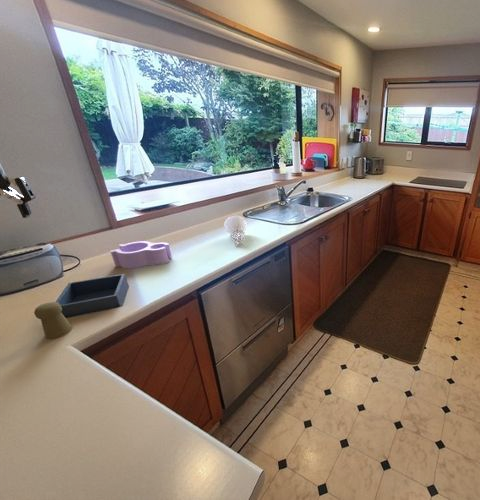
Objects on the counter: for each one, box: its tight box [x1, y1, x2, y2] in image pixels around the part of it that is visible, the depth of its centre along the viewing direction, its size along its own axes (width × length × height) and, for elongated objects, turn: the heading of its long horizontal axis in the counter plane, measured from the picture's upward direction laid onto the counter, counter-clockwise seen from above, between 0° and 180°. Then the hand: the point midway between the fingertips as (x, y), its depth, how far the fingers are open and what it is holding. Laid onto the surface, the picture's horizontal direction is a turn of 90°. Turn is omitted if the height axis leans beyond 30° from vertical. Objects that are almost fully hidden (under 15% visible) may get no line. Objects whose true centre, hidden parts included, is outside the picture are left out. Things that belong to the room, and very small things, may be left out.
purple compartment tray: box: [110, 240, 173, 269], centre depth 122 cm, size 20×12×7 cm, turn 101°
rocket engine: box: [223, 215, 248, 247], centre depth 146 cm, size 12×12×18 cm
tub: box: [55, 273, 130, 319], centre depth 94 cm, size 16×16×6 cm
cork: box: [33, 301, 73, 340], centre depth 78 cm, size 6×6×11 cm
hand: (4, 218), depth 73 cm, fingers open, 8 cm apart
